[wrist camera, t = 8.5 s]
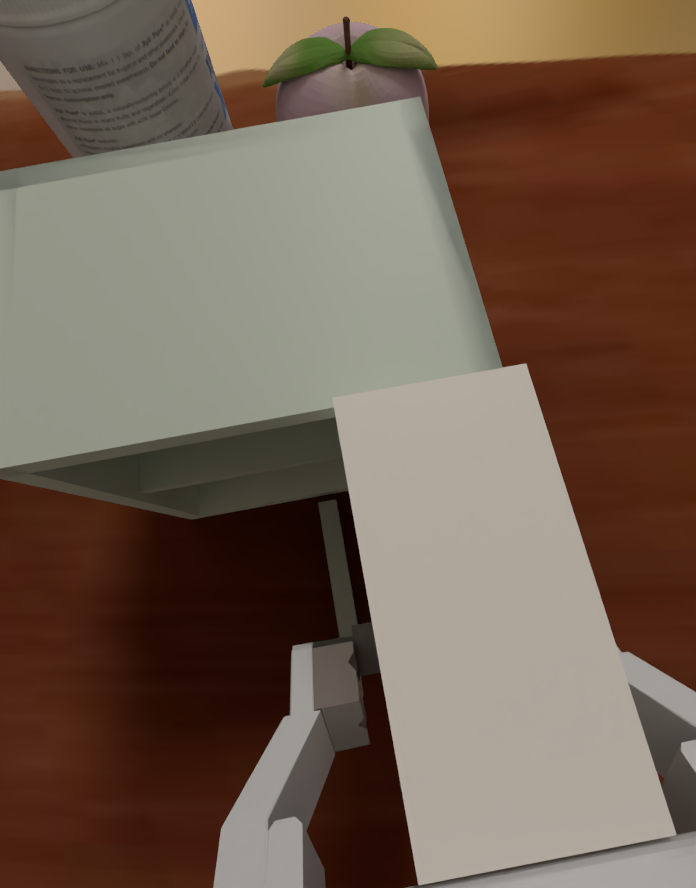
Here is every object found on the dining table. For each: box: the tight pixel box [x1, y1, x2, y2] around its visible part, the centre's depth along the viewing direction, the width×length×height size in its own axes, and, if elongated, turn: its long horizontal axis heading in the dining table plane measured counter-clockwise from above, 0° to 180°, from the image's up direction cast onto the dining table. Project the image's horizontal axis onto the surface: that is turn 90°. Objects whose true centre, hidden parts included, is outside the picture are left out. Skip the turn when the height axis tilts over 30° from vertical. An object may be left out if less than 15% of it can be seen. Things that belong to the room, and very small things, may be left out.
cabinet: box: [0, 97, 503, 638], centre depth 18 cm, size 18×15×14 cm
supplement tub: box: [0, 0, 233, 158], centre depth 23 cm, size 10×10×15 cm
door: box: [332, 364, 677, 885], centre depth 12 cm, size 7×4×11 cm, turn 10°
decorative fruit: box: [263, 17, 438, 123], centre depth 25 cm, size 9×8×10 cm
